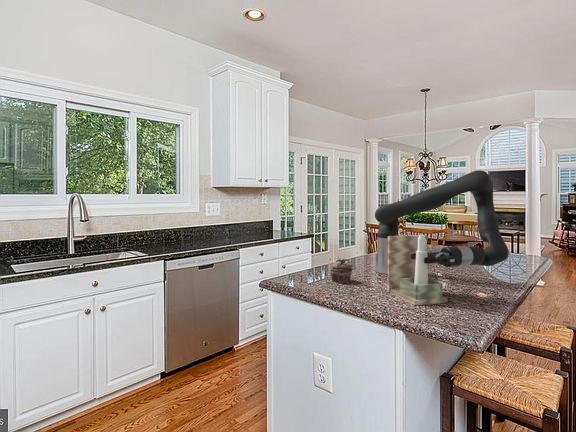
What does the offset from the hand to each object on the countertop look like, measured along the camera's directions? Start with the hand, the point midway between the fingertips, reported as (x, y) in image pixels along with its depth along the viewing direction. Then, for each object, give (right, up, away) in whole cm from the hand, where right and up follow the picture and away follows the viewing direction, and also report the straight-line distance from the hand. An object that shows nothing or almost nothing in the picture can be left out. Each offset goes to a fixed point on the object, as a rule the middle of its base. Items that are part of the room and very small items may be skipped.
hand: (417, 258), depth 131 cm
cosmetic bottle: (+2, -14, +1) cm, 14 cm away
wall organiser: (+2, -15, +4) cm, 15 cm away
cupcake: (-24, -14, +29) cm, 40 cm away
